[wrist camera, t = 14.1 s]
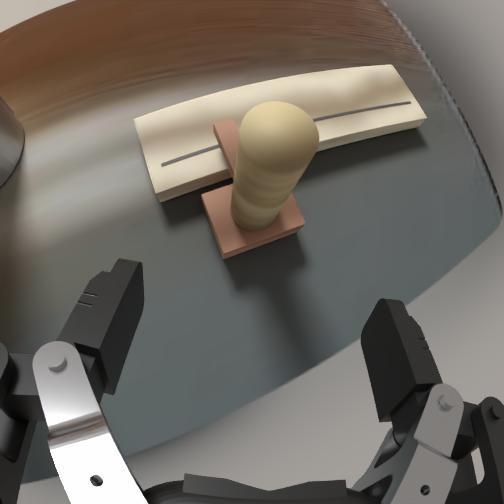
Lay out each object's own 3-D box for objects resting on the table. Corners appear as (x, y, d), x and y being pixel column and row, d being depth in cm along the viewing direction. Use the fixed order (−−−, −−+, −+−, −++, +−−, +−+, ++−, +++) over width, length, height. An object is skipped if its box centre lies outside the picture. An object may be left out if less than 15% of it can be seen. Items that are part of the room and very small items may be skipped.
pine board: (138, 131, 25) (133, 118, 23) (384, 75, 29) (391, 64, 27) (160, 202, 24) (155, 193, 22) (417, 127, 28) (427, 117, 26)
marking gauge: (186, 160, 25) (167, 49, 12) (255, 139, 26) (283, 26, 13) (223, 259, 24) (228, 204, 11) (297, 232, 25) (366, 161, 12)
